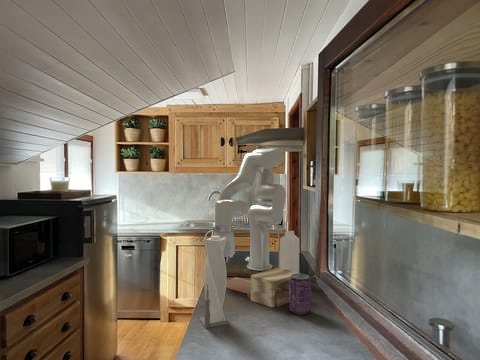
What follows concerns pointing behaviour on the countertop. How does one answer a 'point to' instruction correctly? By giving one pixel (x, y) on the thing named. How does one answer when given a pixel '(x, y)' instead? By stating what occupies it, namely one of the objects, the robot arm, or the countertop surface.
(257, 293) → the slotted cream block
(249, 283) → the tile
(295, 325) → the countertop surface
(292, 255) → the milk
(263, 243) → the robot arm
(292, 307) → the beverage can
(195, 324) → the countertop surface
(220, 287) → the skyscraper
